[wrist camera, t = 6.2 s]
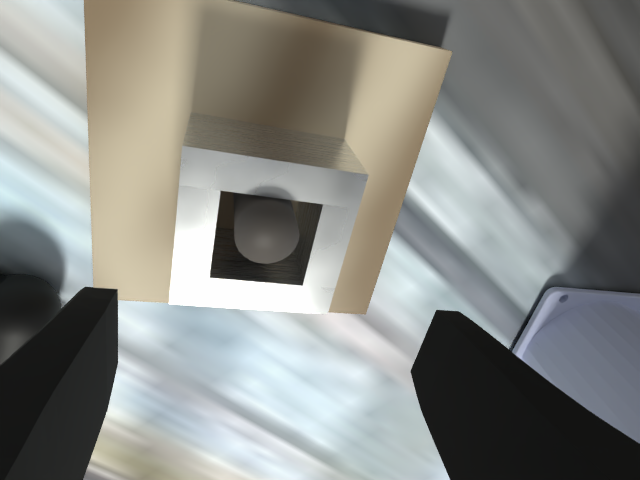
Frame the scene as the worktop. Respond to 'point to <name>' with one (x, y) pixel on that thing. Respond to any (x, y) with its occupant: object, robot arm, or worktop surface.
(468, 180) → the worktop surface
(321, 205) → the collar
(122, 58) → the tan peg board
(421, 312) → the worktop surface
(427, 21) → the worktop surface
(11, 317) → the door handle
